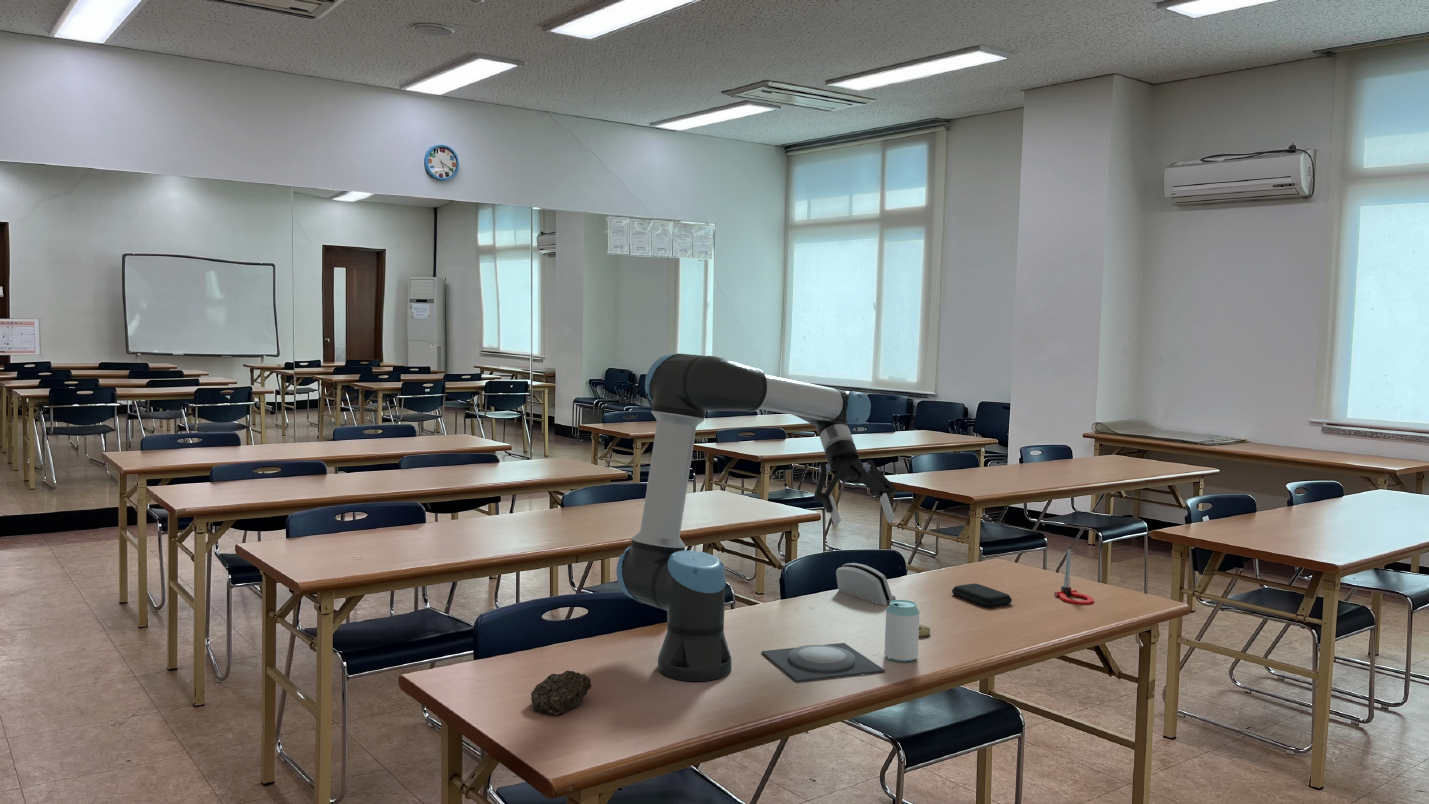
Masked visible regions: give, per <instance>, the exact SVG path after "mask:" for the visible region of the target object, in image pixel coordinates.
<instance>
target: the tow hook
mask: <svg viewBox="0 0 1429 804" xmlns="http://www.w3.org/2000/svg"><path fill="white" fill-rule="evenodd" d="M1071 552H1072V549H1067V556H1066V557H1065V559H1066V560H1065V571H1064V573H1065V574H1064V577H1063V585H1061V586H1060V587H1061V588H1060V591H1054V592H1053V595H1054V597H1055V598H1059V599H1060V600H1061V601H1063V602H1065V603H1067V602H1069V603H1068V604H1071V603H1072V604H1071V605H1077V604H1081V605H1080V606H1087V605H1092V604H1094V598H1093V597H1092V596H1091V595H1088V594H1085V593H1080V592H1078V591H1077V590H1076V589H1072V587H1071V585H1070V584H1071V576H1070V575H1071V567H1072V566H1071V565H1072V564H1071V563H1072V557H1071ZM1070 596H1071V597H1075V598H1082V599H1084V600H1076V599H1072V598H1069V597H1070ZM1082 604H1083V605H1082Z"/></svg>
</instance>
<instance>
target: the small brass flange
mask: <svg viewBox="0 0 1429 804" xmlns="http://www.w3.org/2000/svg"><path fill="white" fill-rule="evenodd" d="M930 636H931V628H930V627H929V626H928V625H925V624H921V623H919V638H918V639H922V638H928V637H930Z"/></svg>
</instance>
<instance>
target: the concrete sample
mask: <svg viewBox="0 0 1429 804" xmlns="http://www.w3.org/2000/svg"><path fill="white" fill-rule="evenodd" d="M591 682H592V681H591V679H590V677H589V676H588V675H587V674H585V673H583V674H581V673H580V672H576V671H574V670H566V671H563V673H550V675H548V676H547V677H546V678H545V679H544V680H543V681H541V682H539V683H537V684H536V685H535V687H534V688H533V690H532V691H531V692H530V695H531V697H530V701H531V705H532V707H531V708H532V710H533V711H534V712H538V713H541V714H544V715H546V716H558V715H560V714H563V713H565V712H566V711H567V710H569V709H571V708H574V707H576V706H578V705H580V704H581V703H582V701H583V700H584V697H586V696H587V695H588V691H589V690H590V689H591V688H592V683H591Z"/></svg>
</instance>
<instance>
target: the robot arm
mask: <svg viewBox="0 0 1429 804" xmlns="http://www.w3.org/2000/svg"><path fill="white" fill-rule="evenodd" d="M644 381H645V382H644V388H645V393H646V394H647V397H648V399H649V401H650V402H651V403H652V404H651V405H652V407H651V411H650V412H651V414H652V415H653V416H654V418H655V420H656V426H655V433H654V438H653V446H652V452H651V459H650V465H649V471H648V478H647V486H646V491H645V498H644V504H643V512H642V518H641V524H640V529H639V532H637V533H636V534H635V535H633V536H632V538H631V542H630V546H627V548H625V549H624V551H623V553H621V554H620V556H619V557H618V560H617V563H616V571H615V572H616V580H617V582H618V586H619V588H620V589H621V590H622V592H623V593H624V594H625V595H626V596H628V597H629V598H631V599H634V601H636V602H638V603H640V604H646V605H648V606H651V607H655V608H658V609H661V610H663V611H666V613H667V614H666V615H667V616H666V619H667V623H666V624H667V625H666V626H667V627H666V633H665V637H664V639H663V642H662V645H661V648H660V650H659V654H658V656H657V670H658V672H659V673H660V674H662V675H663V676H665V677H668V678H671V679H674V680H679V681H684V682H685V681H686V682H709V681H713V680H717V679H722V678H724V677H726V676H728V675H729V674H731V672H732V655H731V653H730V649H729V647H728V642H727V640H726V636H725V631H724V630H725V629H724V628H725V626H724V624H725V623H724V622H725V608H726V607H725V602H726V601H725V599H726V582H727V579H726V573H725V572H726V570H725V569H726V568H725V565H724V563H723V562H722V560H721V559H719V557H717V556H715V555H712V554H711V553H708V552H705V551H704V552H703V551H696V550H686V544H685V542H684V541H683V540H682V539H681V530H682V524H683V518H684V511H685V504H686V497H687V490H688V484H689V483H688V482H689V477H690V471H691V463H692V457H693V453H694V452H693V451H694V444H695V438H696V437H695V436H696V432H697V427H698V426H699V425H700V424H701V423H703V422H704V421H705V418H706V412H729V411H730V412H746V413H753V412H756V411H758V410H761V411H767V412H768V411H769V412H775V413H782V414H788V415H791V416H794V417H796V418H799V419H801V420H803V421H805V422H806V423H809V424H811V425H813V426H814V427H816V430H817V433H818V435H819V438H820V442H821V445H822V449H823V451H824V454H825V458H826V461H827V464H826V462H825V461H820V463H819V466H818V468H817V473H818V477H817V482H816V486H815V491H814V494H813V499H814V501H820V503H821V505H823V506H824V509H825V512H826V513H827V514H829V515H830V517H831V521H832V524H833V527H834V528H835V527H838V526H839V524H840V523H841V521H842V519H841V516H840V514H839V510H838V507H837V504H836V501H835V498H834V496H831V494H832V492H833V490H834V489H835V487H836V485H838V482H839V481H842V482H843V483H844V482H855V481H856V482H858V483H860V484H863V485H865V486H866V487H867V488H868V489H870V490H871V491H872V492H874V493H875V494H876V495H878V496H879V497H880V499H879V501H880V505H881V507H882V511H883V513H884V516H885V519H886V521H887V523H888V524H889V523H890V524H891V523H892V522H893V521H894V519H895V517H896V515H895V512H894V510H893V506H894V502H893V499H892V496H893V495H894V493H895V491H896V490H897V489H896V487H895V485H893V484H892V483H891V482H890V480H889V479H888V478H887V477H886V476H885V475H884V474H883V473H882V472H881V471H880V470H879V469H878V468H877V467H876V465H875V463H874V461H873V459H868V460H867V461H866V462H865V461H864V462H862V461H861V460H860V456H859V453H858V452H859V451H858V450H857V447H856V445H855V442H854V439H853V436H852V432H851V430H850V428H849V425H862V424H864V423H866V421H867V420H868V419H869V417H870V414H871V409H872V405H871V400H870V398H869V396H868V395H867V394H866V393H863V392H859V391H858V392H857V391H855V390H853V391H848V390H842V389H838V388H834V387H829V386H823V385H818V384H813V383H809V382H804V381H799V380H794V379H789V378H785V377H780V376H779V377H778V376H774V375H770V374H765V372H764V371H763V370H762V369H760V368H758V367H756V366H755V367H754V366H750V365H747V364H743V363H740V362H737V361H734V360H730V359H727V358H724V357H719V356H714V355H699V354H687V353H678V352H677V353H674V354H673V353H669V354H666V355H663V356H660V357H658V359H656V360H655V361H654V362H653V363H652V364H651V366H650V367H649V369H648V371H647V372H646V375H645V380H644ZM828 472H830V473H831V474H833V475H834V476H833V478H832V480H831V482H830V484H829V485H828V487H827V488H826V490H825V492H823V488H824V484H825V479H826V476H827V473H828ZM860 475H861V476H860Z"/></svg>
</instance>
